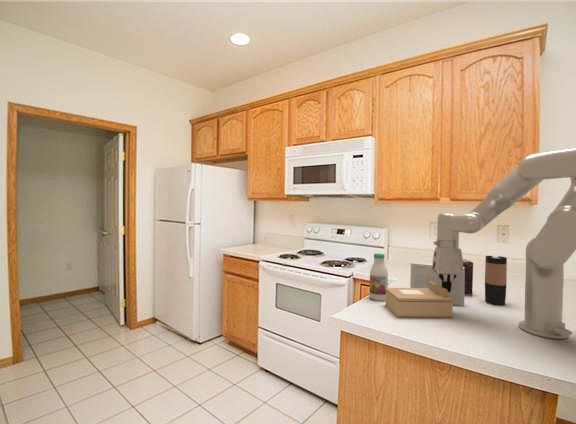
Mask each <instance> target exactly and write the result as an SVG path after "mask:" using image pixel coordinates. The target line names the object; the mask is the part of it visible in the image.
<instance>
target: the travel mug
mask: <svg viewBox="0 0 576 424" xmlns="http://www.w3.org/2000/svg"><path fill="white" fill-rule="evenodd" d="M507 260H508V258H507V257H505V256H500V255H499V256H497V257H496V256H493V255H485V264H484V265H485V267H484V268H485V269H484V301H485V303H486V304H489V305H492V306H498V307H501V306H505V305H506V299H507V298H506V297H507V273H508V272H507V269H508V267H507V265H508V261H507Z"/></svg>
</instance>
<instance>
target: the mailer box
mask: <svg viewBox="0 0 576 424" xmlns="http://www.w3.org/2000/svg"><path fill="white" fill-rule="evenodd" d="M453 306H454V305H453V302H447V301H398V300H397V299H395V298H394V297H393V296H392V295H390V294H389V293H388V292H387V291H386V300H385V307H387V308H388V310H389V311H391V312H392V313H393V315H395V316H396V317H397V318H398V319H453Z"/></svg>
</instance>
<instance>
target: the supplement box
mask: <svg viewBox="0 0 576 424" xmlns="http://www.w3.org/2000/svg"><path fill="white" fill-rule="evenodd" d="M463 267H465V283H464V297H473V285H474V284H473V282H474V262H472V261H470V260H467V259H463Z"/></svg>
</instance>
